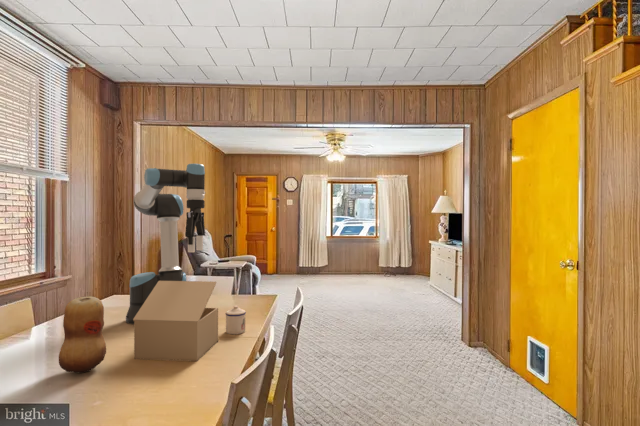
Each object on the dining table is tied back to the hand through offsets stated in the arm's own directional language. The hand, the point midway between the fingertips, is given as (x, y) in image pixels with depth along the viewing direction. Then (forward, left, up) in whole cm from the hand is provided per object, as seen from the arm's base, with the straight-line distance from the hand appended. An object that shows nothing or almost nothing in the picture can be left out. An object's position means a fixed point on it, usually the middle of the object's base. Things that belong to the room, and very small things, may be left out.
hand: (195, 251), depth 168 cm
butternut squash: (-23, -39, -38) cm, 59 cm away
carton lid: (0, -18, -18) cm, 25 cm away
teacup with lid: (+15, +10, -38) cm, 42 cm away
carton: (0, -16, -37) cm, 41 cm away
